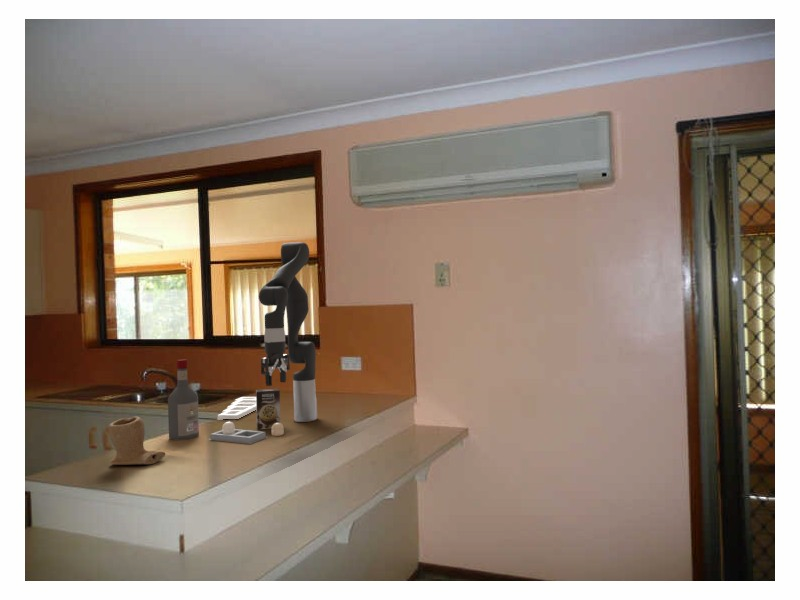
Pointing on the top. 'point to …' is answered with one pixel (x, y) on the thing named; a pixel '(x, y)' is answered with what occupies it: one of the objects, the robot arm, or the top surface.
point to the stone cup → (131, 443)
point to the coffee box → (267, 408)
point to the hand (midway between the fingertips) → (276, 384)
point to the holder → (239, 408)
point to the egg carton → (239, 436)
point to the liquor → (183, 407)
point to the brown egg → (277, 429)
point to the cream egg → (228, 428)
